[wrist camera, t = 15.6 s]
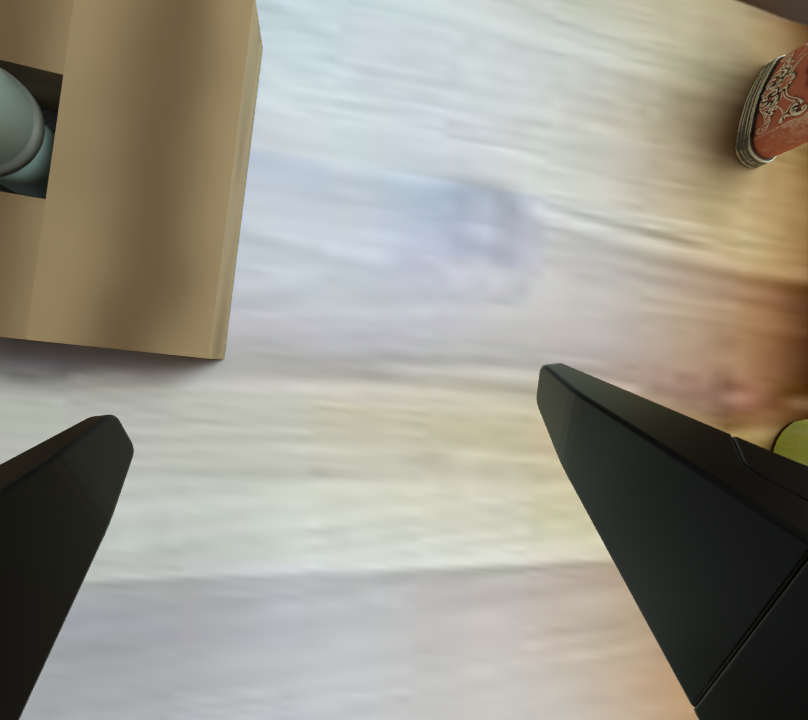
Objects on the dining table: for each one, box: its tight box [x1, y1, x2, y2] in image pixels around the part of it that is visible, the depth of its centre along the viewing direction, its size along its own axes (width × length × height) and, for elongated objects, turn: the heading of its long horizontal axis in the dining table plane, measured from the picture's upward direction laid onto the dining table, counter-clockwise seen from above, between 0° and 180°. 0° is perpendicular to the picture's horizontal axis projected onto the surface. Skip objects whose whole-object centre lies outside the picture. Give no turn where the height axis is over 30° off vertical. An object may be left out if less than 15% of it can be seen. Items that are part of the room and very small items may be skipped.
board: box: [0, 0, 263, 359], centre depth 16 cm, size 18×16×3 cm
